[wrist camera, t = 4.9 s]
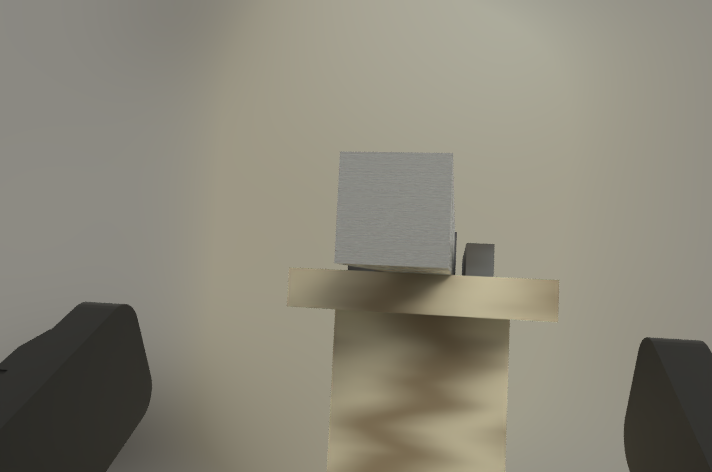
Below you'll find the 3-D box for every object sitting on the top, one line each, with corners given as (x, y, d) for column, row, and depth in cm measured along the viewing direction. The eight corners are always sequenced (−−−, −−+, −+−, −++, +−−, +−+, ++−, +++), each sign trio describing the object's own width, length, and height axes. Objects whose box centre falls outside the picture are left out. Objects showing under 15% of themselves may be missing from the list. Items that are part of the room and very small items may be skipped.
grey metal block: (455, 278, 36) (456, 234, 36) (453, 268, 12) (458, 143, 13) (411, 276, 36) (413, 233, 37) (330, 262, 13) (336, 142, 13)
